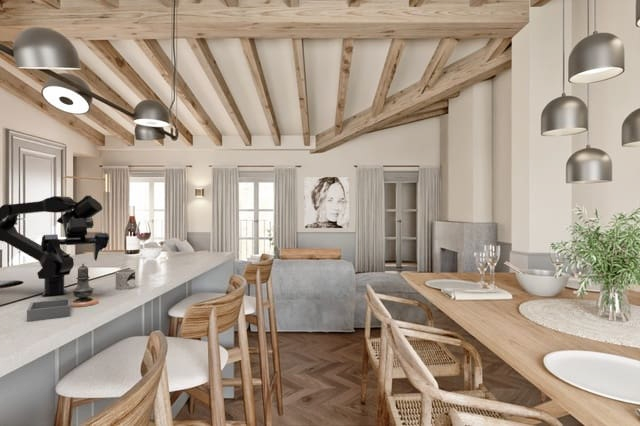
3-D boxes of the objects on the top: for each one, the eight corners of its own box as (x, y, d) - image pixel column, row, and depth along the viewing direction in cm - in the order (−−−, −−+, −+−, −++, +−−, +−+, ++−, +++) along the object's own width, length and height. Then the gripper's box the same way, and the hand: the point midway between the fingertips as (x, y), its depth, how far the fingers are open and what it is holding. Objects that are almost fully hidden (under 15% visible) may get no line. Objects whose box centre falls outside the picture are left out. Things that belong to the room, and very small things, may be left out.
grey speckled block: (130, 289, 136) (130, 272, 136) (112, 290, 135) (112, 272, 135) (141, 284, 146) (141, 268, 146) (124, 284, 145) (124, 268, 145)
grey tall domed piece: (82, 303, 112) (83, 265, 112) (67, 302, 113) (67, 264, 113) (98, 298, 118) (98, 262, 118) (82, 297, 119) (83, 261, 119)
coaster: (67, 302, 117) (67, 299, 117) (98, 299, 121) (98, 296, 121) (66, 308, 110) (66, 305, 110) (99, 304, 114) (99, 301, 114)
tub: (30, 312, 105) (31, 302, 105) (70, 308, 110) (70, 298, 110) (26, 321, 97) (26, 310, 97) (70, 316, 102) (70, 305, 102)
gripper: (42, 209, 116) (47, 247, 108) (107, 210, 128) (116, 243, 121) (39, 233, 121) (43, 269, 113) (102, 231, 134) (110, 264, 126)
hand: (79, 261), depth 118 cm, fingers open, 9 cm apart
